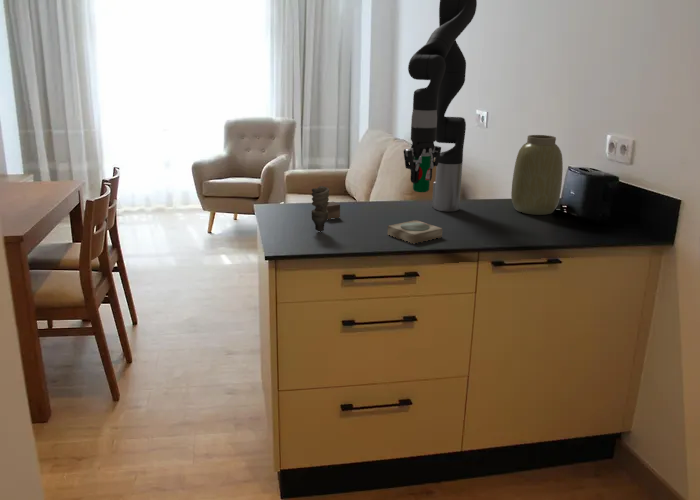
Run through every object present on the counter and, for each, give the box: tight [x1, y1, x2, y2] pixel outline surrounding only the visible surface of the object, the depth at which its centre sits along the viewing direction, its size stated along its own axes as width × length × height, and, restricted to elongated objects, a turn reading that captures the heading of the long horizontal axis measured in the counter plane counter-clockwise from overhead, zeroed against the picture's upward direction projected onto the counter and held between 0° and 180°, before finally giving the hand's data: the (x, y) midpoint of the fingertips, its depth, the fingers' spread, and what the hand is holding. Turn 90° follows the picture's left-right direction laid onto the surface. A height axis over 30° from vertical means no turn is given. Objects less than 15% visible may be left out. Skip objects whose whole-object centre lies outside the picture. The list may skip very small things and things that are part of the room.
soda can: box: [412, 152, 431, 193], centre depth 189 cm, size 5×5×12 cm
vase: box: [510, 134, 564, 216], centre depth 226 cm, size 17×17×27 cm
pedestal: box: [387, 219, 443, 245], centre depth 196 cm, size 12×12×3 cm
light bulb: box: [311, 185, 330, 233], centre depth 196 cm, size 6×6×15 cm
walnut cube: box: [325, 201, 341, 219], centre depth 215 cm, size 5×5×5 cm
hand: (421, 181), depth 190 cm, fingers closed on soda can, 5 cm apart
